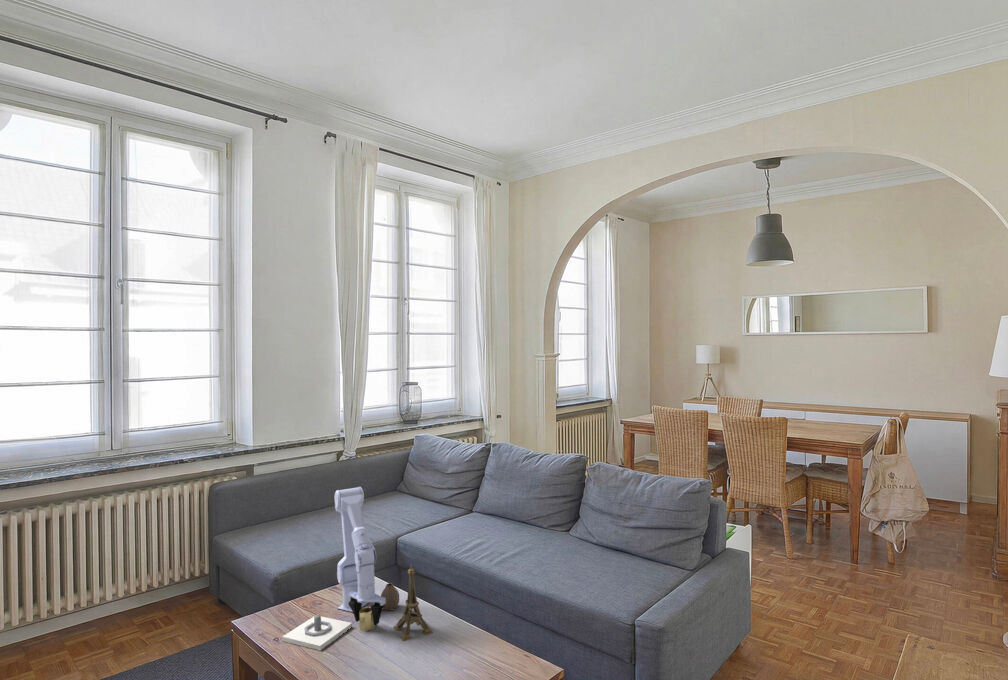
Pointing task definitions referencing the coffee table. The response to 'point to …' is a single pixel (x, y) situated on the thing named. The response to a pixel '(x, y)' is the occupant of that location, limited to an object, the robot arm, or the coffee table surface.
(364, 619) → the collar
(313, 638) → the post board
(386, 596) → the vase
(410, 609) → the eiffel tower
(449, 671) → the coffee table surface
